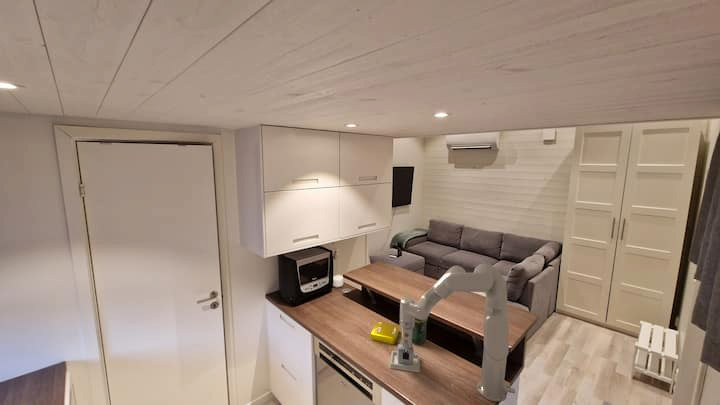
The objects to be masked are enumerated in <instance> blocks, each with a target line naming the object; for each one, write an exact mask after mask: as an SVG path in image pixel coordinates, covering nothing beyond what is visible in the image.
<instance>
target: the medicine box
mask: <svg viewBox="0 0 720 405" xmlns="http://www.w3.org/2000/svg"><path fill="white" fill-rule="evenodd" d="M404 346H405V344H404ZM407 346H408V345H407ZM396 349H397V350H396V351H397V361H398V364H413V356H414V354H415V350H414V345H412V347H411V348H409V360H405V359H403V346H402V343H401V344H400V343H399V344H397V348H396ZM404 349H405V347H404ZM407 350H408V348H407Z"/></svg>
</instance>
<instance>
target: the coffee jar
mask: <svg viewBox="0 0 720 405" xmlns="http://www.w3.org/2000/svg"><path fill="white" fill-rule="evenodd" d="M428 317H429V316H428ZM428 317H427V319H425V320H419V319H416V318H415V323H414V328H412V344H414V345H417V346H420V345H422V344H424V343H425V342H427V322H428Z"/></svg>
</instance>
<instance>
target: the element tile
mask: <svg viewBox="0 0 720 405" xmlns="http://www.w3.org/2000/svg"><path fill="white" fill-rule="evenodd" d="M399 334H400V325H398V324H395V323H388V322H385V321H376V322H375V323H374V325H373V327H372V330H371V331H370V340H372V341H374V342H379V343H384V344H388V345H395V344H396V343H397V341H398V338H399Z"/></svg>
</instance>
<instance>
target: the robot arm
mask: <svg viewBox="0 0 720 405" xmlns="http://www.w3.org/2000/svg"><path fill="white" fill-rule="evenodd" d="M506 284H507V283H506V281H505V278H504V276H503V275H502V273H501V272H500V271H499V270H498V269H497V268H496V267H495V266H493V265H492V264H489V263H480V264H478V265H476V267H475V268H474V271H473V272H466V270H465V269H464V268H463V267H462V266H460V265H453V266H451V267H450V268H449V269H448V270H447V271H446V272H445V273H444V274H443V275H442V276H441V277H440V278H439V279H438V280H437V281H436V282H434V284H433V285H432V286H431V287H430V288H429V289H428V290H427V291H426V292H425V293H423V294H422V296H421V297H420V298H419V299H418V301H417V302H415V300H414V299H413V298H412V297H403V298H401V299H400V301H399V302H400V305H399V307H400V308H399V327H401V344H402V346H403V359H405V360H409V348H411V347H412V346H413V343H412V328H414V323H415V318H416V319H419V320H425V319H427V320H428V318H427V317H429V315H430V313H431V311H432V309H433V308H434V307H435V306H436V305H437V304H438V303H439V302H440V301H441V300H447V299H448V298H449V297H451V296H452V295H453V293H454V292H462V293H466V292H467V293H469V292H470V293H483V292H485V311H484V317H483V354H482V363H481V364H482V365H481V377H480V380H478V381H477V383H476V388H477V392H478V393H479V394H480V395H481V396H482V397H483V398H485V399H487V400H489V401H491V402H494V403H495V402H499V403H501V402H503V401H505V400H506V399H507V396H508V394H509V393H511V394H515V393H516V389H515V388H513V387H511V384H507V383H505V376H506V367H507V360H508V359H507V357H508V355H509V352H510V351H509V350H510V347H509V346H510V326H509V325H510V322H509V321H510V320H509V314H508V291H507V290H508V289H507V285H506ZM404 344H405V346H404ZM407 345H408V346H407ZM404 347H405V349H404ZM407 348H408V350H407Z"/></svg>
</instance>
